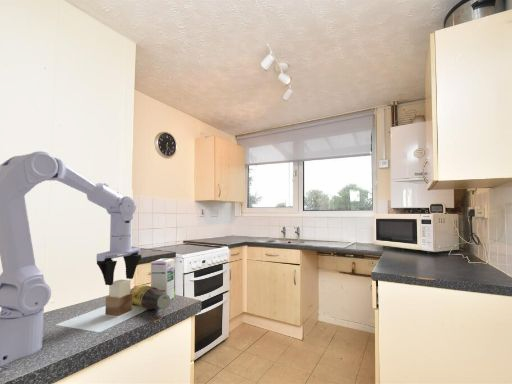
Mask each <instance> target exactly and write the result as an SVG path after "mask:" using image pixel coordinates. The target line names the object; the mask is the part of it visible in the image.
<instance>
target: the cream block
mask: <svg viewBox="0 0 512 384" xmlns="http://www.w3.org/2000/svg"><path fill="white" fill-rule="evenodd" d="M130 292H131V279H118V280H113V285H108V296H109V297H118V298H120V297H123V296H125V295H128V294H130Z"/></svg>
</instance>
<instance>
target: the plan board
mask: <svg viewBox="0 0 512 384" xmlns="http://www.w3.org/2000/svg"><path fill="white" fill-rule="evenodd" d="M148 310H149V309H148V308H144V307H141V306H139V305H133V304H132V310H131V311H129V312H127V313H125V314H122V315H120V316H113V315H105V311H106V305H104V306H101V307H98V308H96V309H94V310H91V311H89V312H86V313H82V314H79V315H78V316H75V317H72V318H70V319H68V320H64V321H62V322H59V323H57V324H55V326H58V327H65V328H70V329H78V330H83V331H88V332H94V333H102V332H104V331H106V330H109V329H111V328H112V327H114V326H116V325H118V324H120V323H123V322H124V321H127V320H129V319H131V318H133V317H135V316H137V315H139V314H141V313H143V312H145V311H148Z"/></svg>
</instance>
